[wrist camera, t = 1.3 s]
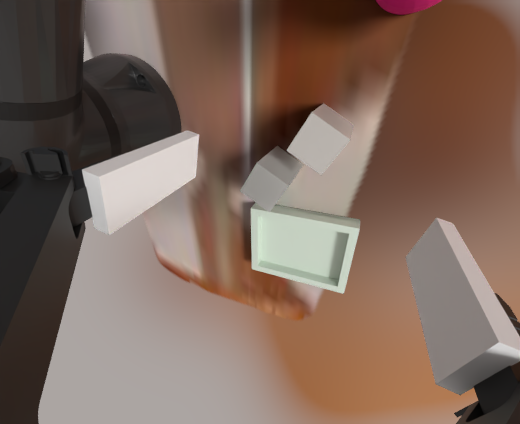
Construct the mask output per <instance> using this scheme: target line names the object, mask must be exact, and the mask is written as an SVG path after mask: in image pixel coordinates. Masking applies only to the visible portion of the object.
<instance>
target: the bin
mask: <svg viewBox="0 0 520 424" xmlns="http://www.w3.org/2000/svg"><path fill="white" fill-rule="evenodd" d="M359 229H360V220H359V219H354V218H348V217H342V216H337V215H331V214H326V213H320V212H314V211H309V210H303V209H297V208H292V207H286V206H280V205H275V206H274V207H273V208H272V210H271V211H270V212H268V211H267V210H265V209H264V208H263V207H261V206H260V205H258V204H257V203H255V204H254V205H253V206H252V207H251V249H252V269H254V270H257V271H261V272H265V273H268V274H272V275H276V276H280V277H283V278H287V279H291V280H294V281H298V282H302V283H306V284H309V285H313V286H317V287H320V288H324V289H328V290H332V291H335V292H339V293H343V294H344V291H345V286H346V282H347V278H348V274H349V270H350V266H351V262H352V258H353V254H354V250H355V246H356V242H357V238H358V233H359Z"/></svg>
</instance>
